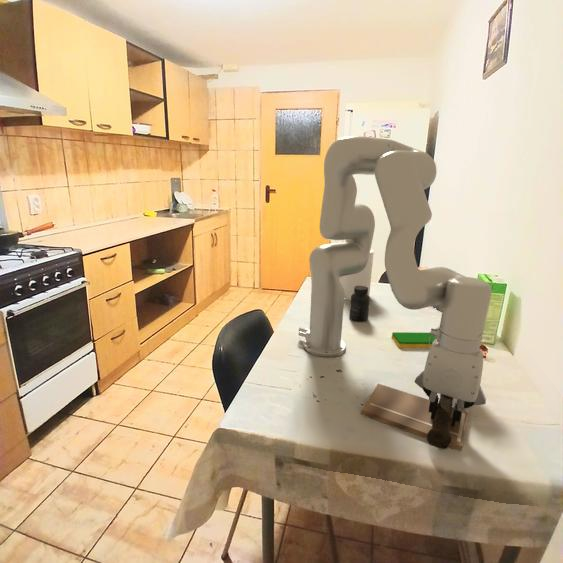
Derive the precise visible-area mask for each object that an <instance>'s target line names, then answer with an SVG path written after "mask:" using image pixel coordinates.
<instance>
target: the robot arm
mask: <svg viewBox="0 0 563 563" xmlns="http://www.w3.org/2000/svg"><path fill="white" fill-rule="evenodd" d="M323 162H324V163H323V177H324V186H323V187H324V189H323V194H322V203H321V210H320V217H319V233H320V235H321V237H322V238H323V239H325V240H327V241H345V242H335V243H334V242H333V243H326V244H321V245H318V246H316V247H315V248H314V249H313V250H312V251H311V252H310V255H309V260H308V264H309V270H310V279H311V281H310V282H311V288H310V290H311V292H310V295H311V296H310V298H311V299H310V315H309V328H307V327H303V326H300V327H299V328H298V336H299V337H303V338H305V339H304V341H303V347H304V348H303V349H305V351H307V352H308V353H309V354H312V355H314V356H317V357H325V358H326V357H327V358H328V357H329V358H330V357H337V356H340V355H342V354H343V353H344V352H346V350H347V349H346V348H347V345H346V343H345V341H344V340H342V333H343V332H342V330H343V320H344V318H343V317H344V306H345V299H344V288H343V286H342V284H341V282H340V280H339V277H341V276H345V275H351V274H356V273H359V272H361V271H363V270H364V269H365V267H366V265H367V263H368V259H369V255H370V250H371V249H372V244H373V240H374V239H373V238H374V233H375V226H376V221H375V219H376V218H375V216H374V213H373V211H372V210H371V208H370V207H368V206H367V205H365V204H361V203H356V199H357V193H358V189H357V182H356V180H355V178H354V176H353V175H367V176H369V175H370V176H373V175H374V178H375V181H376V184H377V187H378V190H379V194H380V197H381V200H382V203H383V207H384V210H385V212H386V217H387V219H388V222H389V227H390V232H389V234H388V237H387V242H386V246H385V249H384V250H385V251H384V267H385V268H384V269H385V273H386V276H387V279H388V282H389V286H390V288H391V291H392V294H393V296H394V298H395V299H396V301H397V302H398V304H400V305H401V306H402V307H403V308H404V309H408V310H415V311H416V310H421V309H425V308H429V307H432V306H433V305H440V304H444V305H443V310H441V318H440V322H439V326H440V328H438V329H436V328H431V329H430V332H429V333H430V335H434V336H435V337H436V338H437V339H435V340H434V341H433V343H432V345H431V347H430V349H429V350H428V353H427V358H426V362H425V366H424V370H423V371H422V372H421V373H420V374H418V375H417V376H416V377H415V379H414V383H415V384H416V385H417V386H418V387H419V388H420V389H422V390H423V392H424V393H425V395H426V396H427V397H428V400H429V401H430V405H429V411H428V412H431V419H434V417H435V414H436V410H437V406H438V403H439V399H440V397H439V394H443V395H446V396H449V397H452V398H454V399H456V400H457V401H456V403H455V404H454V407H453V408H454V412H453V416H452V424H451V425H452V426H453V427H454V426H455V422H456V421H457V422H460V417H461V412H462V411H465V410H467V409H469V408H471V407H473V406H483V405H486V404H487V398H486V395H485V393H484V391H483V388H482V386H481V381H482V376H483V367H484V352H483V350H482V349H481V345H482V341H483V335H484V331H485V326H486V321H487V316H488V313H489V308H490V304H491V299H492V294H493V290H492V286H491V284H489V283H488V282H487V281H485V280H483V279H479V278H477V277H471V276H465V275H463V274H460V273H459V272H457V271H454V270H453V269H451V268H447V267H445V266H444V267H443V266H436V267H431V268H430V267H429V268H430V269H423V270H419V269H418V267H419V266H418V264H417V259H416V255H415V243H416V239H417V236H418V234H419V233H420V231H421V230H422V229H423V228H424V226H425V225H427V224H428V223H429V222H430V221H431V219H432V215H433V214H432V210H431V207H430V204H429V201H428V199H427V196H426V193H425V190H427V189H428V188H429V187H431V186H432V185H433V183H434V182H435V179H436V177H437V165H436V163H435V160H434V159H433V157H432V156H431V155H430V154H429V153H427V152H425V151H422V150H420V149H417V148H414V147H412V146H409V145H406V144H405V143H401V142H399V141H396V140H392V139H388V138H379V137H372V136H371V137H370V136H362V135H361V136H360V135H359V136H358V135H351V136H349V135H348V136H343V137H340V138H338V139H336V140H334V141H333V142H332V143H331V144H330V146H329V147H328V149H327V151H326V154H325V156H324V161H323Z"/></svg>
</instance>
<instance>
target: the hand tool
mask: <svg viewBox="0 0 563 563" xmlns="http://www.w3.org/2000/svg"><path fill="white" fill-rule="evenodd" d="M439 394H440V393H439ZM454 399H455V398H452V397H449V396H446V395H443V394H440V395H439V401H438V407H437V410H436V414H435V417H434V421H433V425H432V429H431V430H430V431H429V432H428V435H427V439H426V441H427V442H428V444H429V446H432V447H435V448H438V449H443V450H446V449H448V448H450V447H449V444H450V443H451V436H450V434H449V433H450V429H451V424H452V418H451V413H452V407H453V403H454Z"/></svg>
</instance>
